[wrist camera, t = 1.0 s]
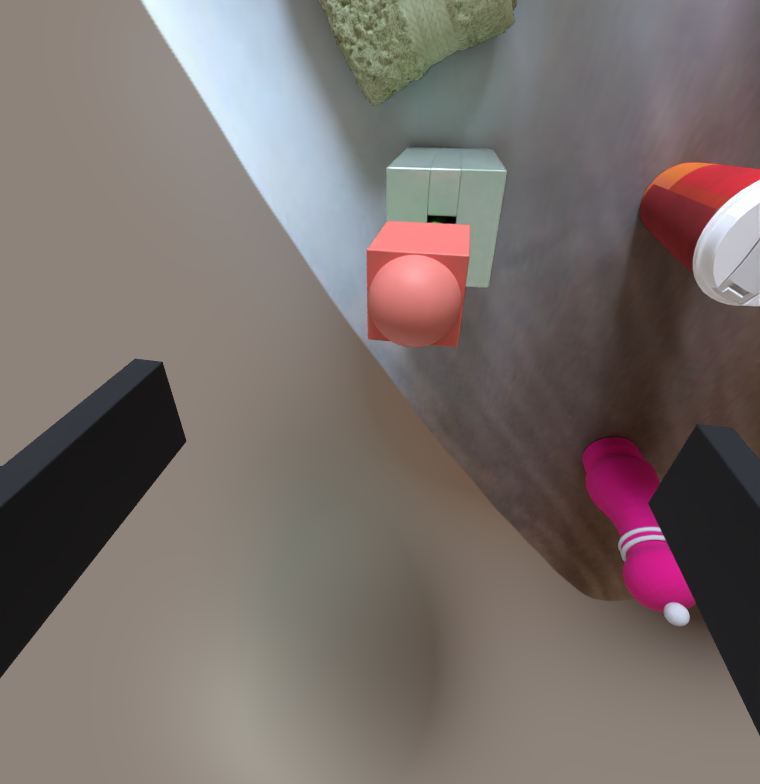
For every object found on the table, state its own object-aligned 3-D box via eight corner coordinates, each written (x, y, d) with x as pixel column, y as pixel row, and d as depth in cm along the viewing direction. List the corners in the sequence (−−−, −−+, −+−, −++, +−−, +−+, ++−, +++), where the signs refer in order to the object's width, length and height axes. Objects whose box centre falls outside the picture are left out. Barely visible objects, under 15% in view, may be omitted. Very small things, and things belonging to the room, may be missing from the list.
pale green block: (492, 148, 34) (507, 170, 24) (480, 236, 38) (488, 288, 28) (407, 146, 35) (386, 167, 25) (404, 232, 39) (384, 281, 29)
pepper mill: (594, 426, 48) (662, 591, 32) (656, 441, 48) (755, 614, 32) (567, 468, 53) (615, 633, 36) (623, 482, 52) (696, 654, 36)
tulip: (472, 170, 35) (469, 272, 14) (466, 221, 37) (456, 371, 17) (411, 168, 35) (327, 262, 15) (409, 218, 38) (334, 358, 17)
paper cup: (673, 263, 37) (768, 335, 26) (604, 219, 36) (671, 275, 25) (758, 176, 33) (916, 218, 21) (682, 124, 32) (807, 138, 20)
